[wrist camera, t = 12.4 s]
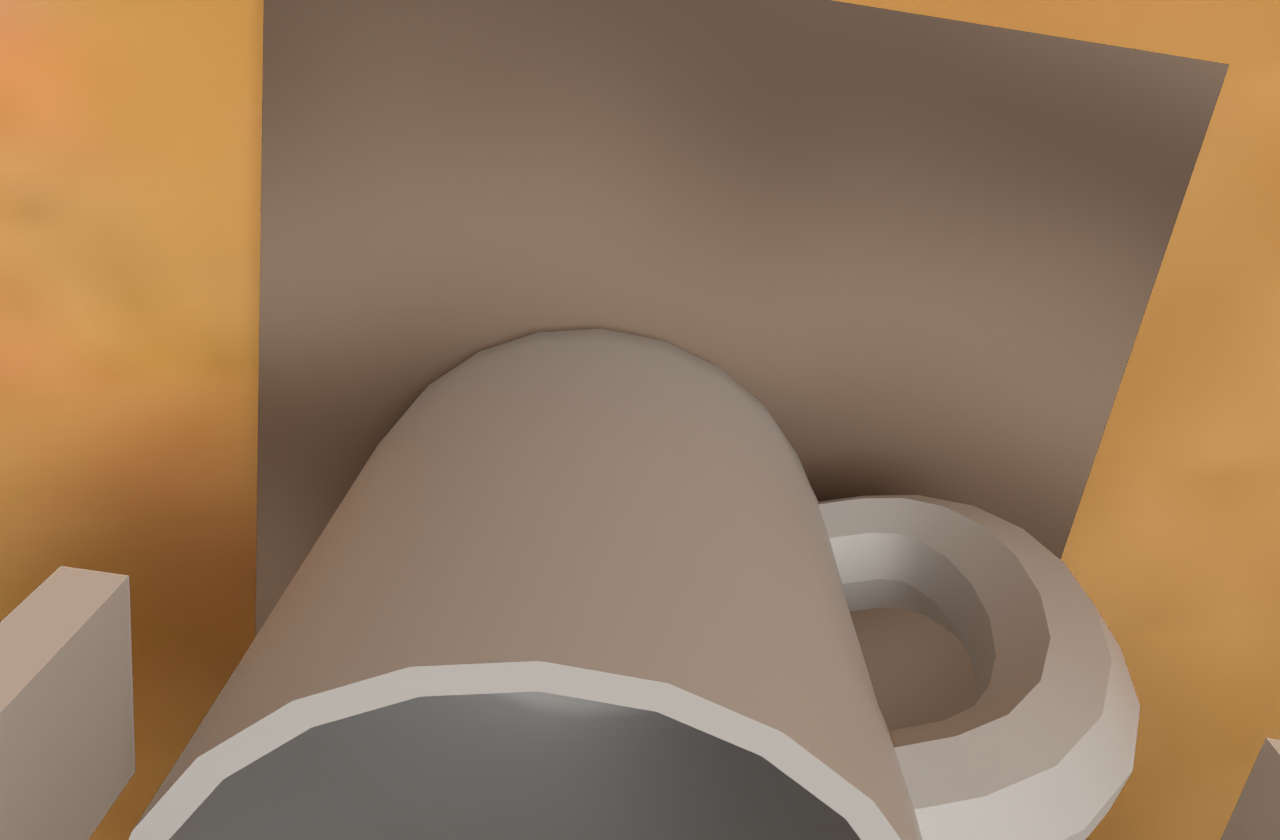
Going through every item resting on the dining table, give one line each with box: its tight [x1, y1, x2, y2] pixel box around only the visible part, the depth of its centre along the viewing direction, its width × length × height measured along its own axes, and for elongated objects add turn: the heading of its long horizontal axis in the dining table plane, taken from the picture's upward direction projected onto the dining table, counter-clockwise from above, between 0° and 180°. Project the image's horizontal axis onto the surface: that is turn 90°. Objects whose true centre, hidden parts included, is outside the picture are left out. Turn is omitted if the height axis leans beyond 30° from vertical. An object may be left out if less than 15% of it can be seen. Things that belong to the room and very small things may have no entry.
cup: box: [129, 329, 1140, 840], centre depth 13 cm, size 7×10×9 cm
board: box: [255, 0, 1229, 731], centre depth 18 cm, size 16×13×2 cm
